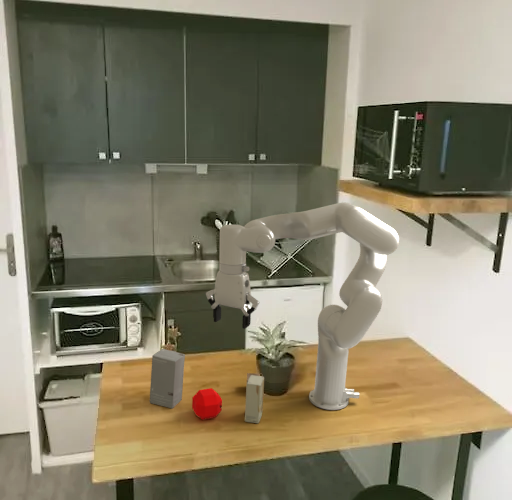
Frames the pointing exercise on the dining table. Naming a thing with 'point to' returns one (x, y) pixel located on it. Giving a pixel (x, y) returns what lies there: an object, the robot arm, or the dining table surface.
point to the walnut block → (250, 375)
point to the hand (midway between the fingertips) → (231, 323)
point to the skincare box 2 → (254, 399)
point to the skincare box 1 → (167, 378)
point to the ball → (206, 403)
